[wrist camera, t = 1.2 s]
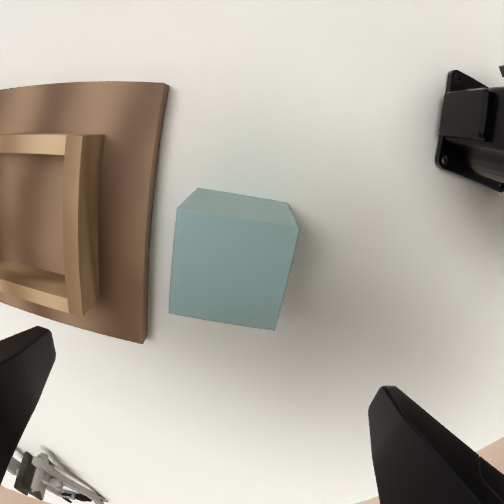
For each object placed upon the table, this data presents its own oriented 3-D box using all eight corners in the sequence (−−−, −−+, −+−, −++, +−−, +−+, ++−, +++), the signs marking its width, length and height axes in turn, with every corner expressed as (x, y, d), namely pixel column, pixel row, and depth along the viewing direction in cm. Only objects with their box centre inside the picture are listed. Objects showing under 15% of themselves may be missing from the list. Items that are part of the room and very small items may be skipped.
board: (169, 85, 15) (149, 75, 12) (146, 335, 21) (131, 367, 17) (-21, 95, 14) (-53, 95, 11) (-15, 288, 20) (-39, 307, 17)
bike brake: (-6, 435, 28) (71, 491, 38) (-19, 470, 22) (65, 520, 32) (48, 446, 27) (130, 500, 37) (36, 490, 21) (126, 534, 31)
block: (287, 202, 18) (299, 228, 13) (270, 283, 19) (274, 330, 15) (198, 187, 17) (177, 208, 13) (188, 269, 19) (168, 312, 14)
